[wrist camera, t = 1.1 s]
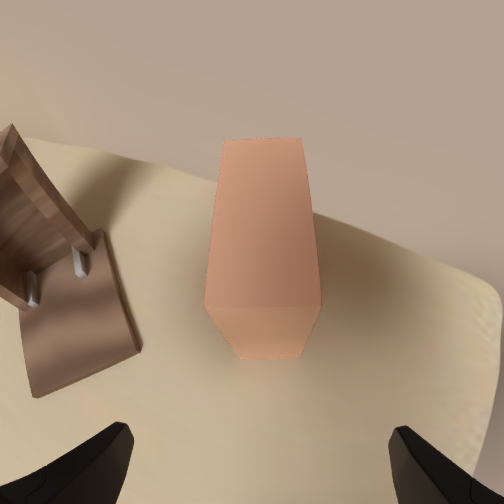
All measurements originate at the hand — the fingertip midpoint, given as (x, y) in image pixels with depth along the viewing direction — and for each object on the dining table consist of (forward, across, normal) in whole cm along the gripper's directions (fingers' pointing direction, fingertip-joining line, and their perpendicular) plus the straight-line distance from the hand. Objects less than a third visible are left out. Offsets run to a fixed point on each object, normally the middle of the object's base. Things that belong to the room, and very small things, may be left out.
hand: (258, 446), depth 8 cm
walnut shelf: (+14, +19, +3) cm, 24 cm away
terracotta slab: (+16, 0, +2) cm, 16 cm away
